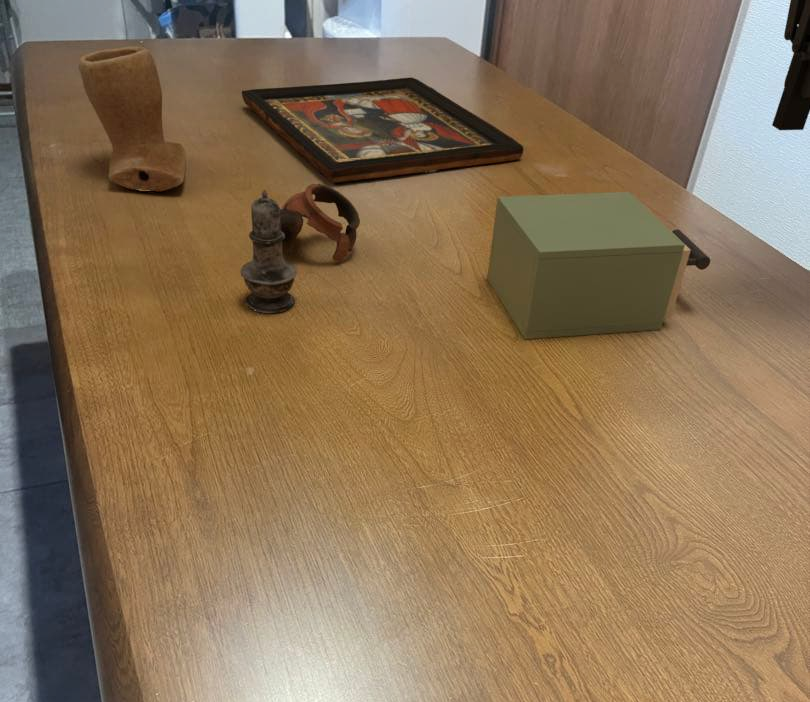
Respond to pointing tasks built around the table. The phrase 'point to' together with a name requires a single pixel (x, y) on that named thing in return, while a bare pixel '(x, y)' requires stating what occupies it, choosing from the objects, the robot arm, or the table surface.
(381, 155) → the framed icon painting
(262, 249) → the salt shaker
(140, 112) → the clay pipe bowl
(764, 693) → the table surface
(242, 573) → the table surface
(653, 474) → the table surface
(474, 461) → the table surface
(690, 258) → the drawer
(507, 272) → the cabinet
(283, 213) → the broken clay pot
